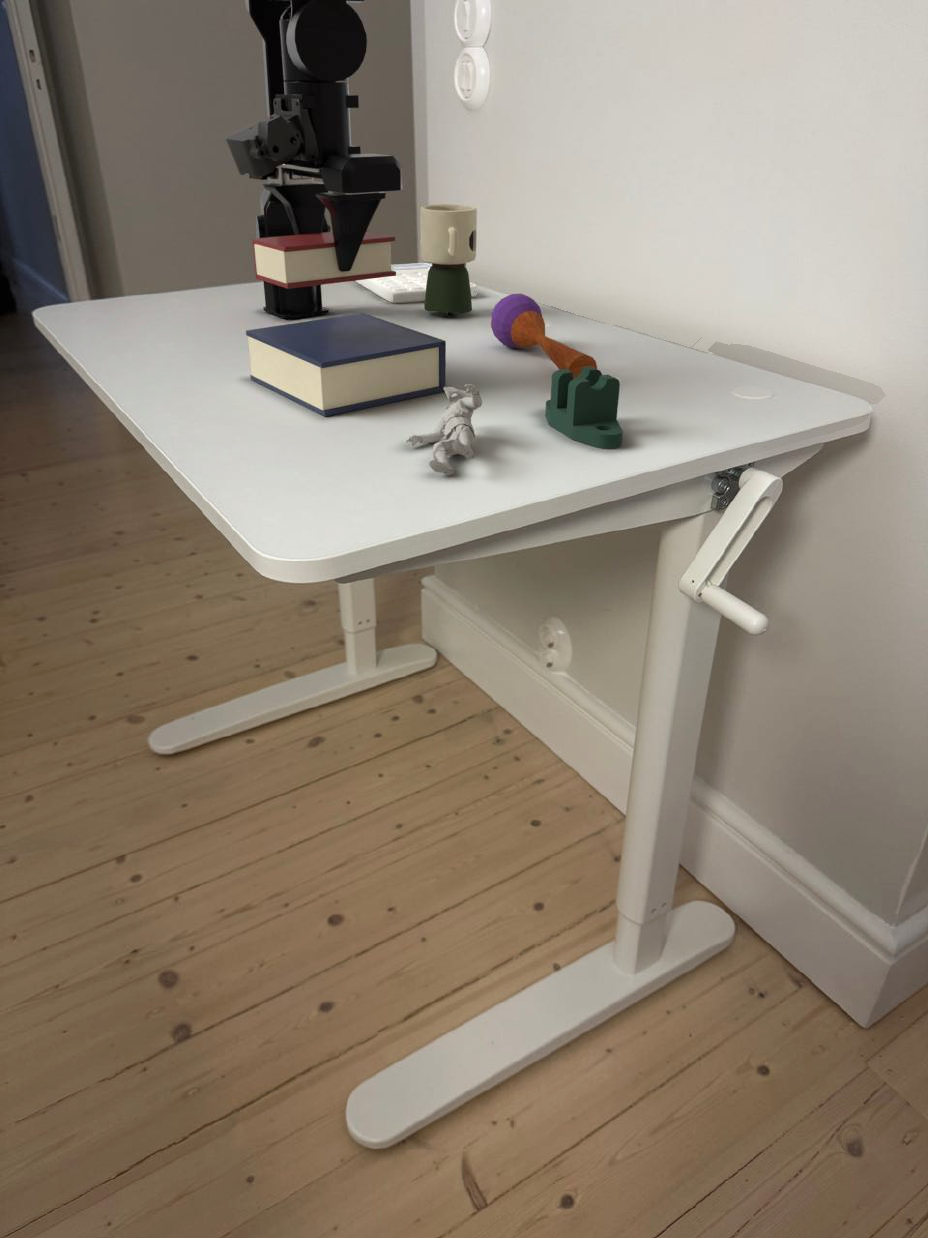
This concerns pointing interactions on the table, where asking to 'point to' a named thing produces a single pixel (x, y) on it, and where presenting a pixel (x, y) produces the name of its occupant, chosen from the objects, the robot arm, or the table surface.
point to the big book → (347, 362)
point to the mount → (585, 407)
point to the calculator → (404, 283)
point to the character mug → (448, 255)
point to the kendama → (533, 332)
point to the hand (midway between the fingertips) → (327, 266)
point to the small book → (318, 259)
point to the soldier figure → (453, 429)
